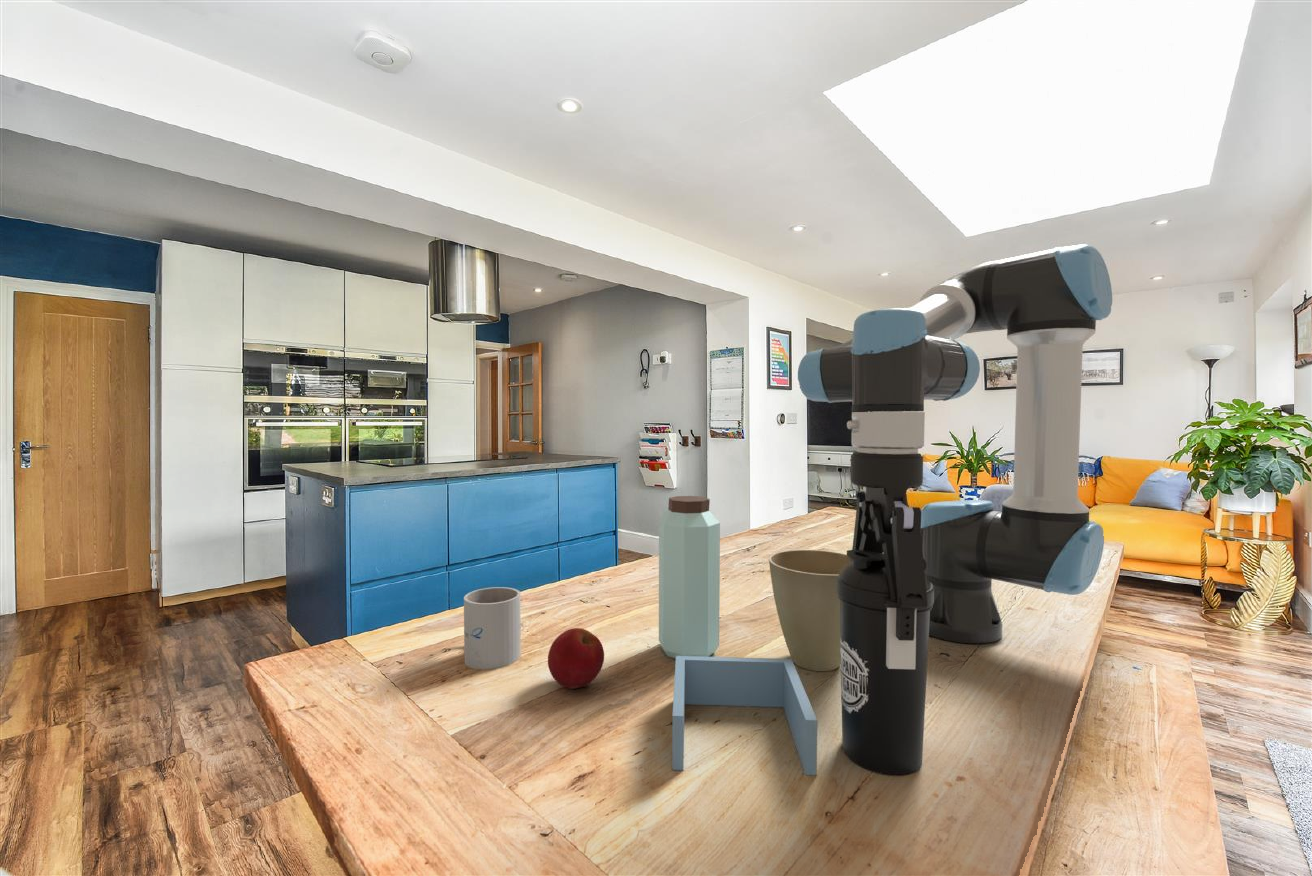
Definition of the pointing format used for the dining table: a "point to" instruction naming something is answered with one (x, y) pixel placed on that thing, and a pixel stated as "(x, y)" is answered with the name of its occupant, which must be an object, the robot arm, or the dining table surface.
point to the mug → (492, 628)
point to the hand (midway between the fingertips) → (883, 646)
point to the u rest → (744, 697)
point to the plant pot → (809, 605)
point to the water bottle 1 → (689, 578)
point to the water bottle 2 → (879, 673)
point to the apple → (575, 658)
